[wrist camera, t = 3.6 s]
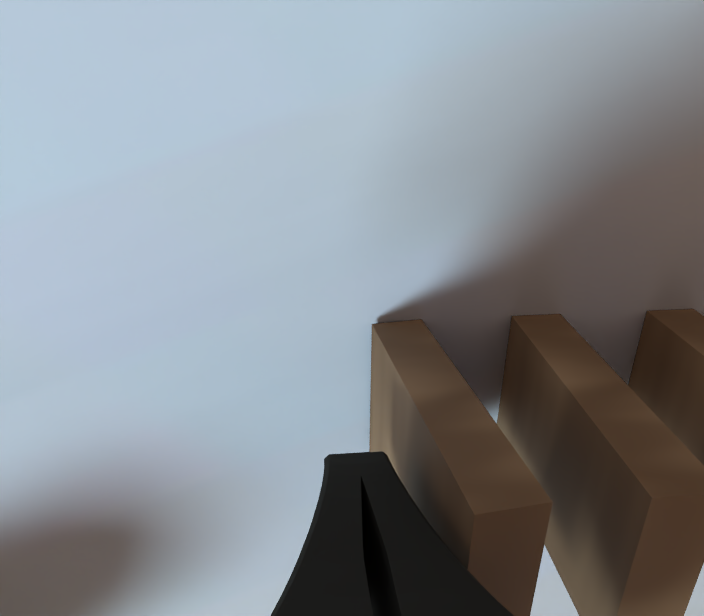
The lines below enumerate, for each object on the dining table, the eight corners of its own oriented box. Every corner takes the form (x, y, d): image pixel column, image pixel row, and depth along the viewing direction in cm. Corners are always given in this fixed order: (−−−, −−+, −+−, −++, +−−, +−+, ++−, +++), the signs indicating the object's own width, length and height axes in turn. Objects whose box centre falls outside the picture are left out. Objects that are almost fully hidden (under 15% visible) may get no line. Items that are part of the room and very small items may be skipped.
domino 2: (560, 314, 16) (729, 492, 10) (538, 439, 18) (668, 657, 12) (511, 315, 16) (651, 497, 10) (494, 442, 18) (602, 662, 12)
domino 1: (421, 319, 16) (552, 501, 10) (413, 446, 18) (519, 667, 12) (372, 324, 16) (475, 514, 9) (369, 452, 17) (453, 682, 11)
